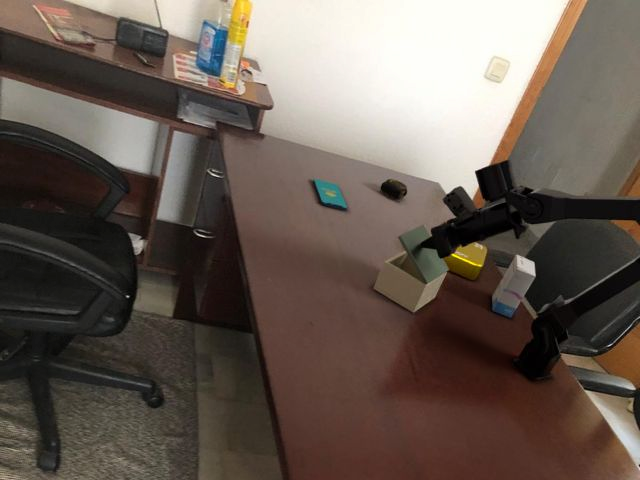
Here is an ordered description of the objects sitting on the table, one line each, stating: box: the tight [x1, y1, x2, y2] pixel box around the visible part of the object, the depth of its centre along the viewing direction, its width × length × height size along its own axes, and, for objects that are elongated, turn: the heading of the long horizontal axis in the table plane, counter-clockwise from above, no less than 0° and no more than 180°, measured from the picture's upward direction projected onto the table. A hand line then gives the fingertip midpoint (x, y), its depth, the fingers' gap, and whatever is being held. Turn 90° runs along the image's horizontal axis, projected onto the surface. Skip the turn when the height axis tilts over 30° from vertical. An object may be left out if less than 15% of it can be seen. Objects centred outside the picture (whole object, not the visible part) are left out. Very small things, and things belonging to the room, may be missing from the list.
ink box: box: [491, 254, 537, 319], centre depth 154 cm, size 9×5×12 cm, turn 168°
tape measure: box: [380, 178, 408, 201], centre depth 190 cm, size 7×7×4 cm
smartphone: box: [312, 178, 348, 211], centre depth 176 cm, size 7×1×15 cm
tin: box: [373, 250, 448, 314], centre depth 145 cm, size 11×12×7 cm
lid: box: [397, 224, 449, 285], centre depth 141 cm, size 11×12×1 cm
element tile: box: [429, 233, 488, 281], centre depth 168 cm, size 15×15×5 cm
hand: (421, 244), depth 140 cm, fingers closed
